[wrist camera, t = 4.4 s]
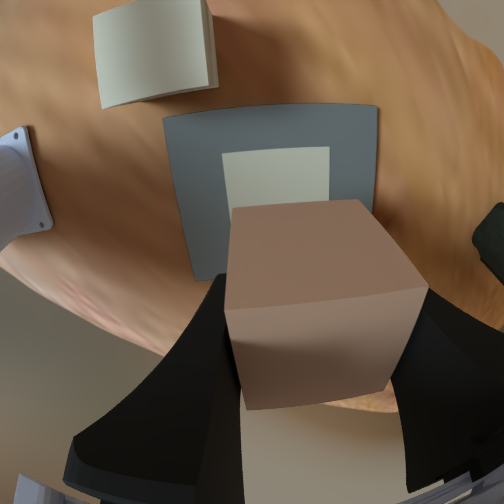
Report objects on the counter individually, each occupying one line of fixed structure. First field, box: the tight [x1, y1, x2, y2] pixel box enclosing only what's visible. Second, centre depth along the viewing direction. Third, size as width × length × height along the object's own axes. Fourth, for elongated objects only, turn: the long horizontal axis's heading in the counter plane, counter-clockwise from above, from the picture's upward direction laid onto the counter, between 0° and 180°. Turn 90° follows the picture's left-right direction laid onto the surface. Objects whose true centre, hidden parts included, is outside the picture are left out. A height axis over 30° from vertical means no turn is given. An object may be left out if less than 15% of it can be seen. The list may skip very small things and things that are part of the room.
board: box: [163, 103, 377, 281], centre depth 17 cm, size 12×11×1 cm
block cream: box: [93, 0, 219, 109], centre depth 10 cm, size 4×4×5 cm
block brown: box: [224, 199, 429, 410], centre depth 9 cm, size 4×4×5 cm
